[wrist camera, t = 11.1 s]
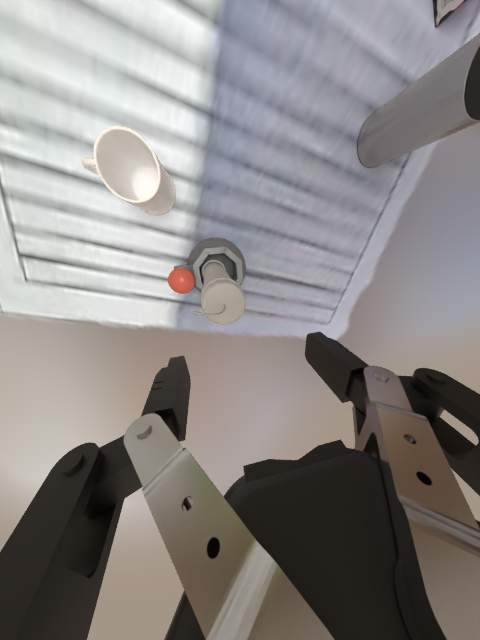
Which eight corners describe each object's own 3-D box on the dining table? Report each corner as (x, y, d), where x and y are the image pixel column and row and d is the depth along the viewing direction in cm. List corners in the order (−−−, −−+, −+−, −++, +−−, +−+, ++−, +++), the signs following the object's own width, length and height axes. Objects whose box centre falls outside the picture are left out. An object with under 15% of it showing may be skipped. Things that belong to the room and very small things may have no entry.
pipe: (218, 285, 43) (243, 361, 16) (195, 273, 41) (179, 340, 14) (228, 265, 41) (274, 314, 15) (204, 252, 39) (208, 281, 12)
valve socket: (242, 235, 40) (252, 234, 31) (246, 292, 46) (255, 304, 38) (168, 242, 38) (157, 242, 29) (183, 301, 44) (177, 316, 35)
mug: (109, 202, 33) (64, 184, 22) (107, 146, 30) (53, 95, 19) (173, 220, 36) (160, 212, 26) (177, 172, 33) (164, 140, 22)
